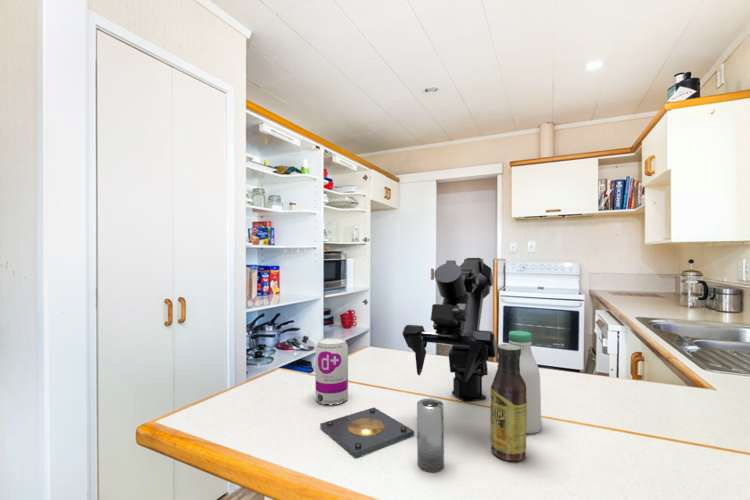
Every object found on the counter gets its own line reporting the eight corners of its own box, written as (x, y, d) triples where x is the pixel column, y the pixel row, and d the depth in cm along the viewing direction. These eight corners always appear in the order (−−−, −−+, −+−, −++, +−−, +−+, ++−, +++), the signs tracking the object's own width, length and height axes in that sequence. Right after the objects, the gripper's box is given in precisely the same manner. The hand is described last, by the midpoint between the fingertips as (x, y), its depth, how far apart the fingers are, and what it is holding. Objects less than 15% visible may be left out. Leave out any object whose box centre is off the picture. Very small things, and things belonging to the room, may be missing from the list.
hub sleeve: (435, 455, 65) (435, 396, 65) (449, 469, 61) (448, 406, 61) (413, 460, 64) (412, 400, 64) (425, 474, 59) (424, 410, 60)
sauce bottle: (485, 445, 68) (483, 341, 69) (516, 444, 69) (515, 341, 69) (500, 465, 62) (498, 350, 62) (534, 463, 62) (532, 349, 63)
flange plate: (374, 411, 84) (374, 405, 84) (413, 435, 72) (413, 428, 72) (320, 428, 76) (320, 421, 76) (355, 458, 64) (355, 450, 64)
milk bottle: (539, 421, 79) (537, 330, 79) (543, 437, 71) (541, 337, 72) (501, 416, 81) (500, 327, 82) (502, 431, 74) (501, 334, 74)
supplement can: (342, 407, 86) (342, 345, 86) (310, 405, 88) (310, 343, 88) (351, 395, 94) (351, 337, 94) (322, 392, 96) (322, 336, 96)
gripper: (405, 287, 78) (385, 349, 68) (493, 290, 70) (486, 361, 60) (417, 318, 85) (400, 378, 75) (499, 324, 77) (492, 392, 67)
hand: (441, 377), depth 69 cm, fingers open, 9 cm apart
